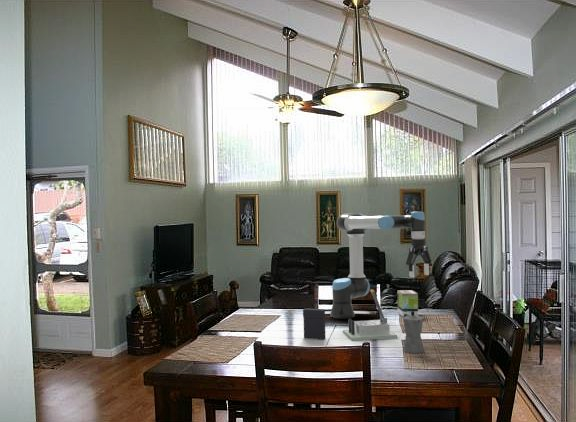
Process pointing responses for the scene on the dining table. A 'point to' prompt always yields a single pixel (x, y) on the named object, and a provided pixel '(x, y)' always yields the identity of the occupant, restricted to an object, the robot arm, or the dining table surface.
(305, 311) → the calculator
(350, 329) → the knife switch
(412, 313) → the coffeepot
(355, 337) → the board
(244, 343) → the dining table surface
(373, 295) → the lever
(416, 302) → the tea box
